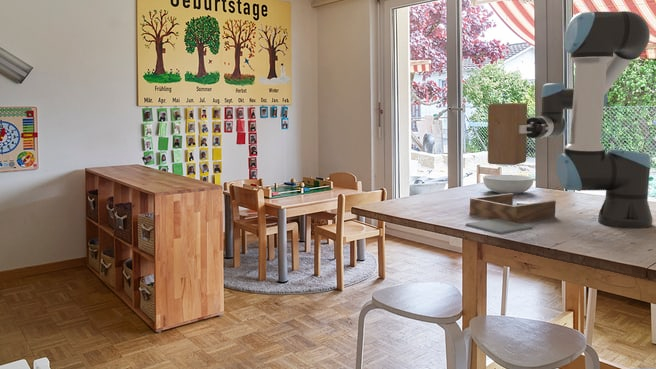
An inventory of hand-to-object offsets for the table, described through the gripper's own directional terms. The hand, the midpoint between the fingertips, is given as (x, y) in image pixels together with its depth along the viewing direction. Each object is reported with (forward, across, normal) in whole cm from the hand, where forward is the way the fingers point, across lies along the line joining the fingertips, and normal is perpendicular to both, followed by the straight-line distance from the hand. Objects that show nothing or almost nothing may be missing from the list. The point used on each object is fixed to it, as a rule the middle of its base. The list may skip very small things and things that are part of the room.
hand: (503, 129), depth 182 cm
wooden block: (-2, 0, -12) cm, 12 cm away
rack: (-5, -1, -30) cm, 30 cm away
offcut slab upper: (-12, -4, -28) cm, 31 cm away
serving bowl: (-48, +27, -30) cm, 62 cm away
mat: (+14, -8, -30) cm, 34 cm away
